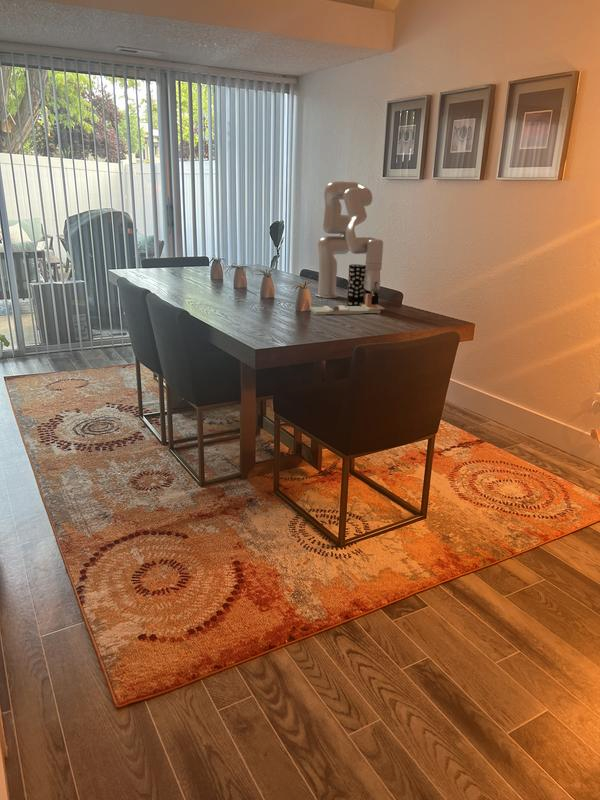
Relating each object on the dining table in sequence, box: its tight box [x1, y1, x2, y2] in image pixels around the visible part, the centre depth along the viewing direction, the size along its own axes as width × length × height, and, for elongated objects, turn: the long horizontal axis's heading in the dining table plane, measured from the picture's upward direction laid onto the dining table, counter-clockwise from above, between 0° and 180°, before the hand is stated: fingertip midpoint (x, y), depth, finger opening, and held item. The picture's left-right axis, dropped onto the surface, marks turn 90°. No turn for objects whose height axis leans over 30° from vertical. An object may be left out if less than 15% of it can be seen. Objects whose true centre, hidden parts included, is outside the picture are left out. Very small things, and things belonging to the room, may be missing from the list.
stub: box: [361, 292, 385, 310], centre depth 289 cm, size 10×8×7 cm
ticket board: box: [309, 301, 382, 316], centre depth 287 cm, size 12×32×4 cm, turn 104°
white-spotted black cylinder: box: [346, 264, 366, 306], centre depth 299 cm, size 8×8×20 cm
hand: (371, 302), depth 289 cm, fingers open, 9 cm apart
